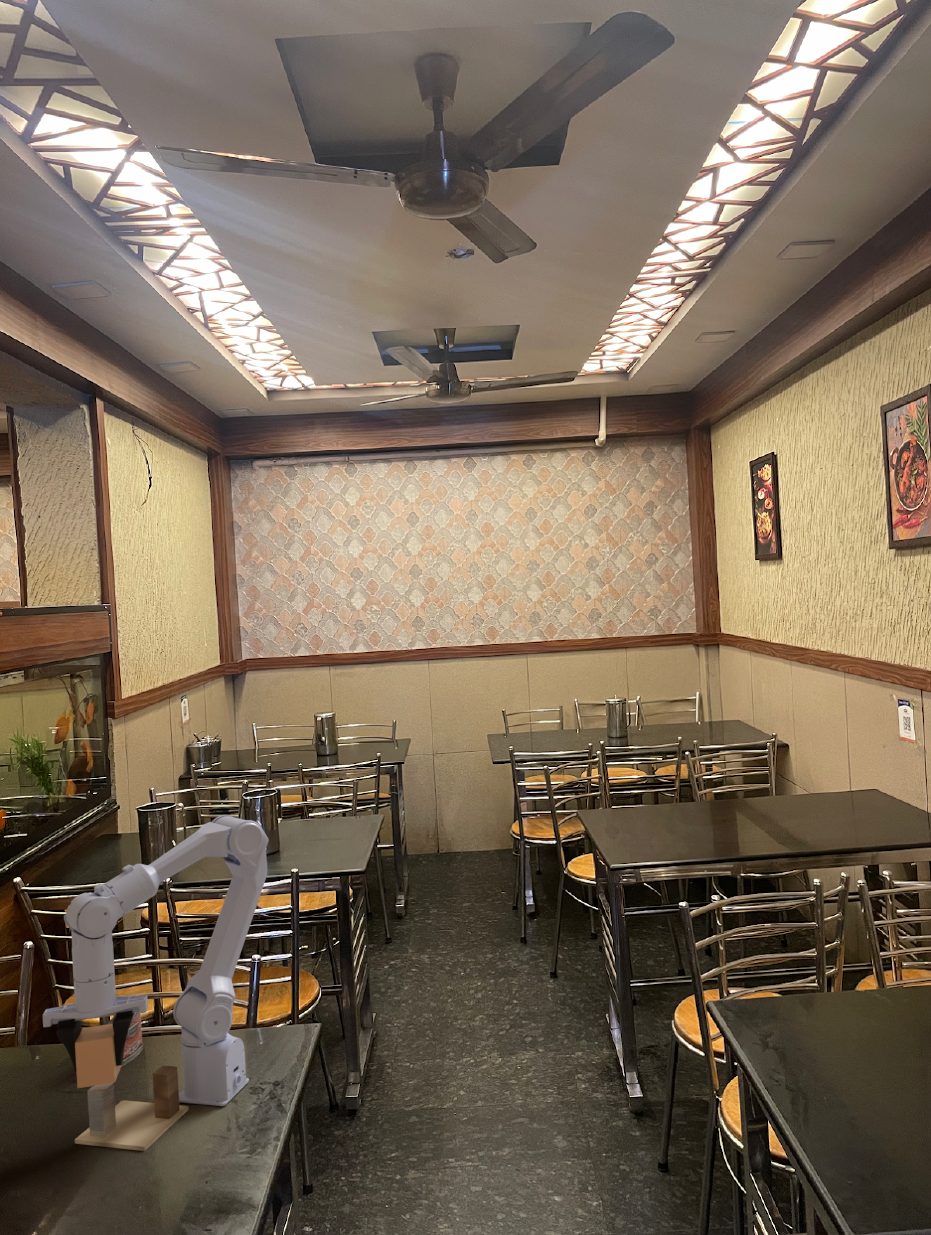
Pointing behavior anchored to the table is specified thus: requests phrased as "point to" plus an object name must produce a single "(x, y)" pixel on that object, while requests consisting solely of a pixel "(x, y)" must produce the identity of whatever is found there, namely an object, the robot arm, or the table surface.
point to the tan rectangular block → (96, 1056)
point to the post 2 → (166, 1092)
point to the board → (133, 1127)
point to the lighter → (132, 1038)
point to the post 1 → (101, 1110)
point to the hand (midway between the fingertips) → (99, 1065)
